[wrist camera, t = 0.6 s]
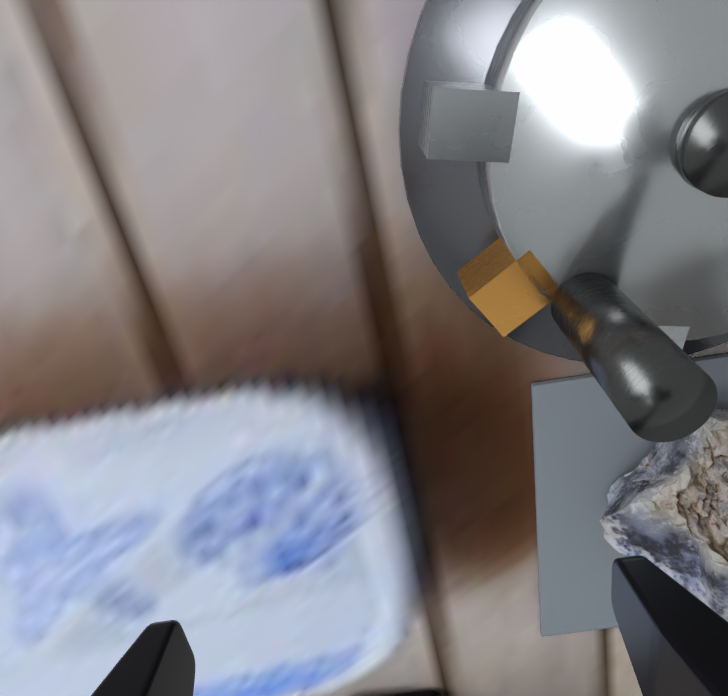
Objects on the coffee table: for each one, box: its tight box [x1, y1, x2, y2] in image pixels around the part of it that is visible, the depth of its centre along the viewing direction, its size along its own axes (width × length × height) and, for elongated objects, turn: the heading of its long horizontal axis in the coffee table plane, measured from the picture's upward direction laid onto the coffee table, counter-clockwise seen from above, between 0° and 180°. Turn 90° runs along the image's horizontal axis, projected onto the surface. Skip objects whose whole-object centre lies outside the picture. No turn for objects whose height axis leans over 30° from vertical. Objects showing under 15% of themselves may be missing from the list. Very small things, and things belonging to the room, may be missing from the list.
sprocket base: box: [399, 0, 728, 361], centre depth 16 cm, size 15×15×4 cm
